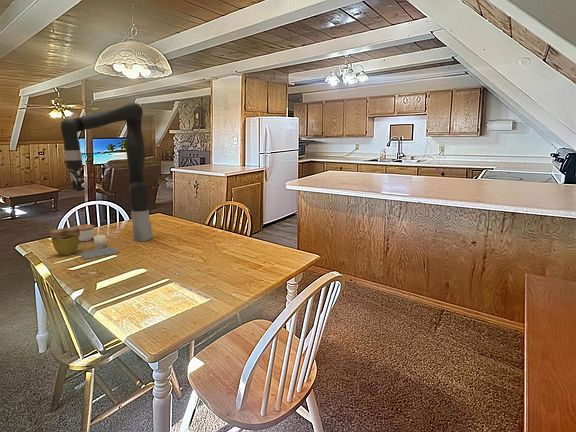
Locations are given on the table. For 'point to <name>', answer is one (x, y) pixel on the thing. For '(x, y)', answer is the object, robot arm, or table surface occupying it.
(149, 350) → the table surface
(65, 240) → the flower pot
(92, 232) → the lidded jar
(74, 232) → the lid
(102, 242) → the cream rounded block
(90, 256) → the mat
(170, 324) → the table surface
